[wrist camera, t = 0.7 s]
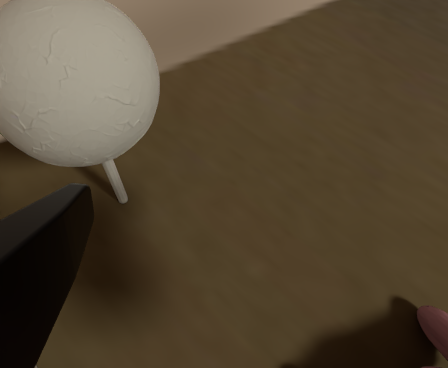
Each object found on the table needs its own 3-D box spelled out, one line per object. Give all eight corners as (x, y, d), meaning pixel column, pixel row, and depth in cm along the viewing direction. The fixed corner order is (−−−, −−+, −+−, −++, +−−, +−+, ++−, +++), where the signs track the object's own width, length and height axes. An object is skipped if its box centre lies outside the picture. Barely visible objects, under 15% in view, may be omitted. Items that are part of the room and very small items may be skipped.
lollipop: (61, 171, 26) (-76, -37, 13) (158, 144, 28) (121, -66, 15) (81, 263, 23) (-70, 113, 10) (188, 227, 25) (176, 56, 12)
